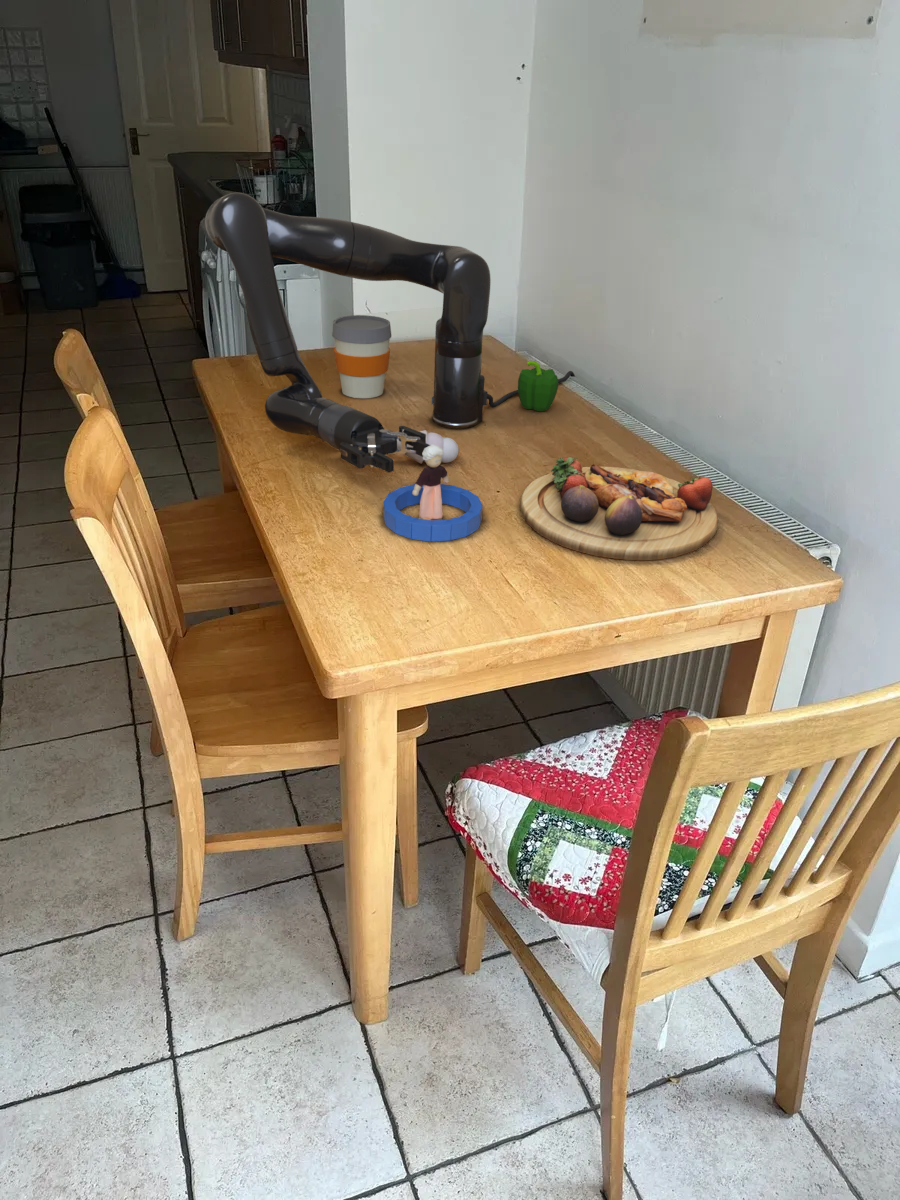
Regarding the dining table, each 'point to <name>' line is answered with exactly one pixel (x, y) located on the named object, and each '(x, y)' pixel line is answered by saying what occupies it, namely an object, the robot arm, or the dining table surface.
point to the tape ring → (433, 528)
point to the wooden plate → (620, 511)
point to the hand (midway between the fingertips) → (412, 460)
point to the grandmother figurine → (431, 484)
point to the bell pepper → (537, 387)
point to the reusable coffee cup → (362, 354)
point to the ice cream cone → (445, 443)
